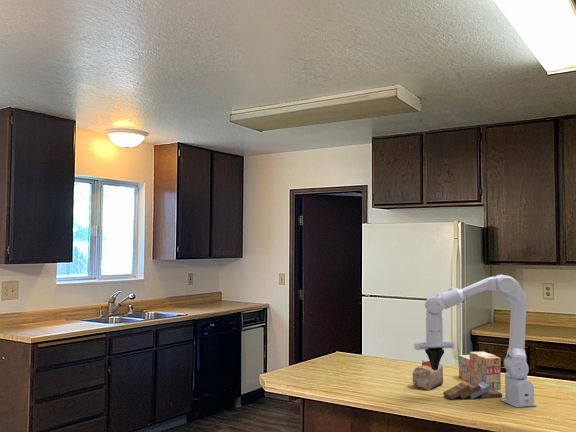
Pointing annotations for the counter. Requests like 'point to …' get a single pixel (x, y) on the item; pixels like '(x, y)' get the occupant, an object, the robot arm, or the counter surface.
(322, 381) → the counter surface
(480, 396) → the domino
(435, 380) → the food item
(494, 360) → the stack of blocks
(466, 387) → the domino
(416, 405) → the counter surface
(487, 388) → the placed domino
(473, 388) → the domino
